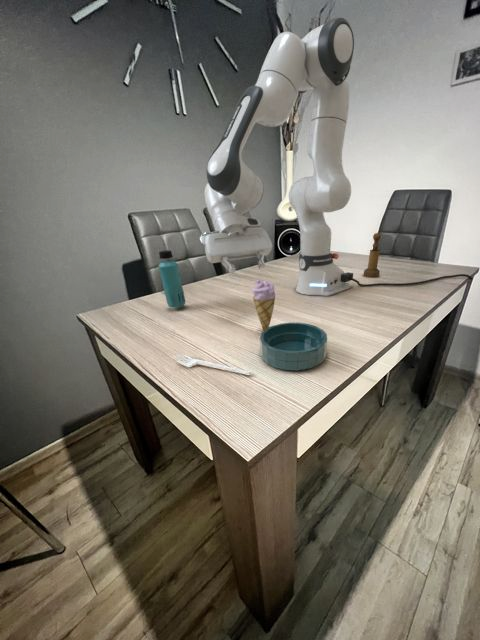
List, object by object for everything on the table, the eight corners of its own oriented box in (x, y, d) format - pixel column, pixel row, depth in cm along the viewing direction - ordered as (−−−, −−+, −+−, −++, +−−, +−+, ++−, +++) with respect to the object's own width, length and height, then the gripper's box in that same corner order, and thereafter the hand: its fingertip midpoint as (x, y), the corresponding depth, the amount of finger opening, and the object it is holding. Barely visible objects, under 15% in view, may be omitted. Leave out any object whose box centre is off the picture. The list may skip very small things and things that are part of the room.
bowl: (301, 334, 76) (301, 317, 73) (339, 359, 64) (341, 340, 61) (250, 349, 70) (249, 332, 67) (282, 380, 58) (282, 360, 55)
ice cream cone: (251, 327, 81) (247, 277, 74) (270, 323, 83) (268, 274, 76) (260, 336, 76) (257, 283, 68) (280, 331, 78) (279, 279, 70)
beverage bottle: (182, 311, 96) (169, 252, 86) (164, 311, 97) (150, 252, 87) (189, 305, 101) (179, 248, 91) (173, 305, 103) (161, 249, 93)
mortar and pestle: (364, 277, 121) (370, 234, 112) (362, 274, 127) (367, 232, 118) (380, 277, 120) (387, 233, 111) (377, 274, 126) (384, 231, 117)
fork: (246, 380, 58) (246, 372, 57) (172, 363, 66) (171, 357, 65) (253, 372, 61) (252, 364, 60) (181, 357, 68) (179, 350, 67)
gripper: (198, 225, 75) (215, 268, 72) (264, 219, 83) (281, 257, 80) (197, 241, 80) (212, 281, 78) (258, 234, 88) (274, 270, 85)
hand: (247, 269), depth 79 cm, fingers open, 8 cm apart
